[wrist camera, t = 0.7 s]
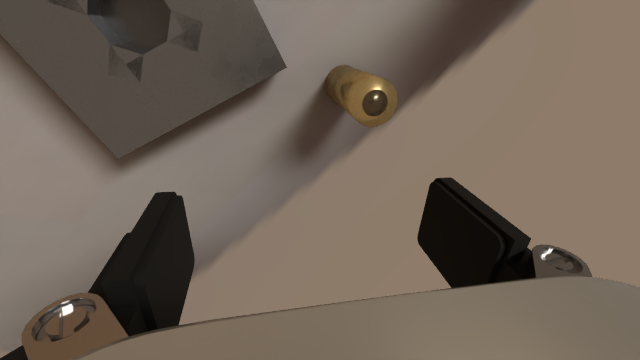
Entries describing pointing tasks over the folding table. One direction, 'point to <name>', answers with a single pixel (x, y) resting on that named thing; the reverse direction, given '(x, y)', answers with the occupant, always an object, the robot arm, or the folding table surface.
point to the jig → (141, 59)
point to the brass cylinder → (362, 95)
